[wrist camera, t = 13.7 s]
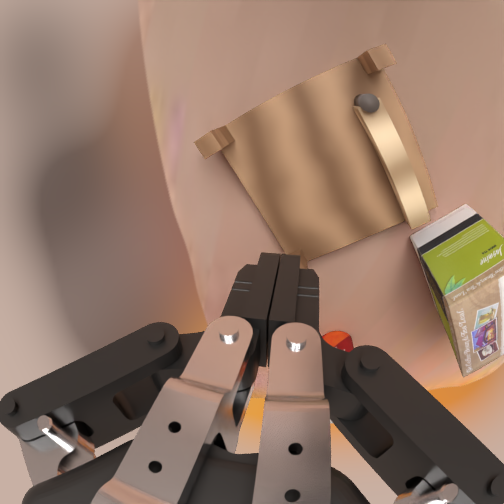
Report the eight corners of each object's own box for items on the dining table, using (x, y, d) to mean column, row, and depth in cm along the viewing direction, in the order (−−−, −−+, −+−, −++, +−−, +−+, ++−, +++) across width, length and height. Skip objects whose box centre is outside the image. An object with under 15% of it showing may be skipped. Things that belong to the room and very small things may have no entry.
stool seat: (369, 54, 22) (385, 43, 16) (432, 200, 29) (454, 224, 23) (216, 132, 31) (193, 142, 25) (294, 258, 37) (290, 291, 32)
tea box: (483, 278, 33) (522, 346, 20) (434, 306, 37) (460, 381, 25) (466, 199, 28) (527, 261, 16) (406, 233, 32) (446, 311, 20)
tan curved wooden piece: (347, 99, 24) (353, 99, 21) (368, 90, 23) (376, 89, 20) (404, 217, 29) (413, 232, 26) (421, 209, 28) (433, 223, 25)
